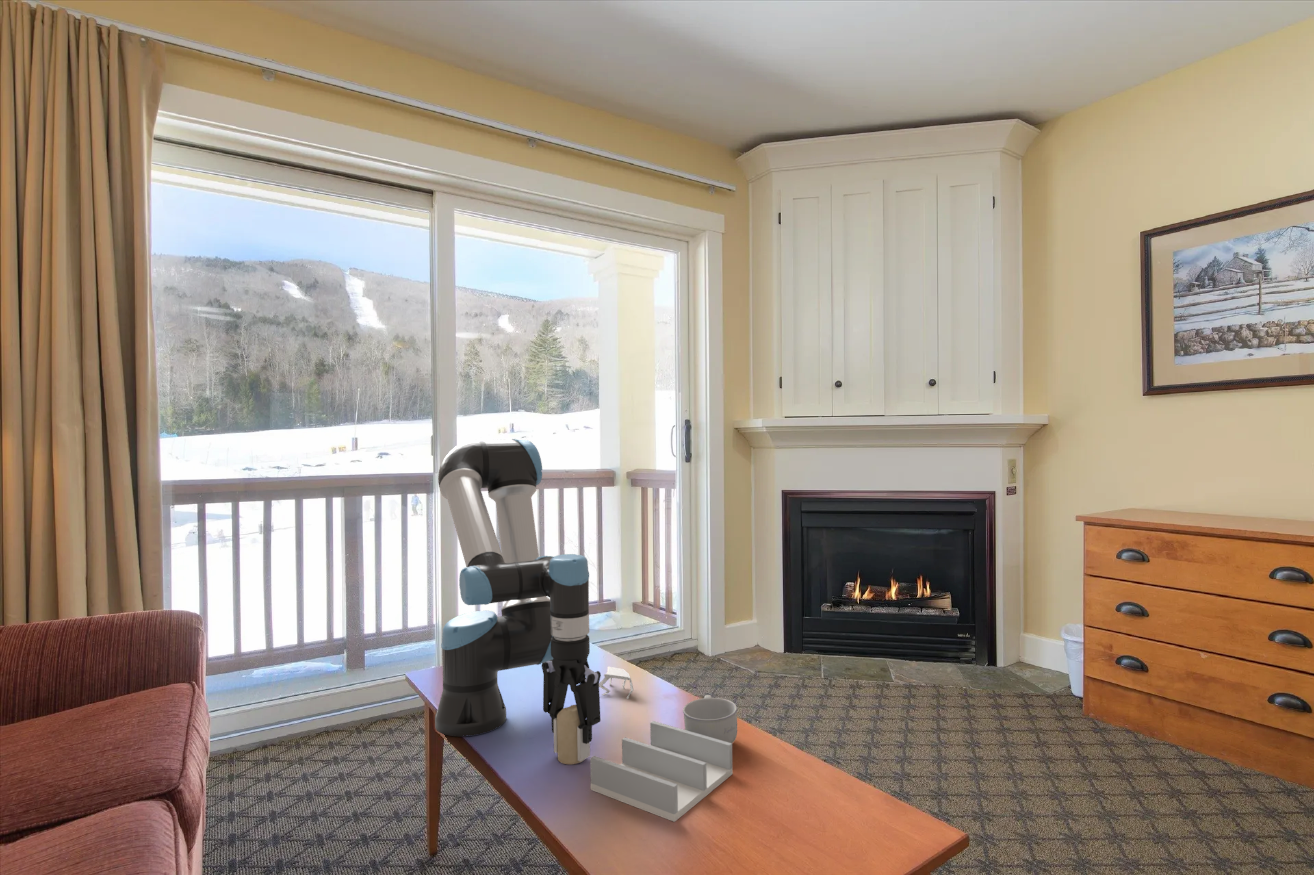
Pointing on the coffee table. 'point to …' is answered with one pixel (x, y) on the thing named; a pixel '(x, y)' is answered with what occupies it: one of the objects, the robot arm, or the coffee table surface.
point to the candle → (567, 735)
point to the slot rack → (664, 771)
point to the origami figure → (617, 674)
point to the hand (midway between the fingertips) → (571, 754)
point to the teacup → (712, 718)
